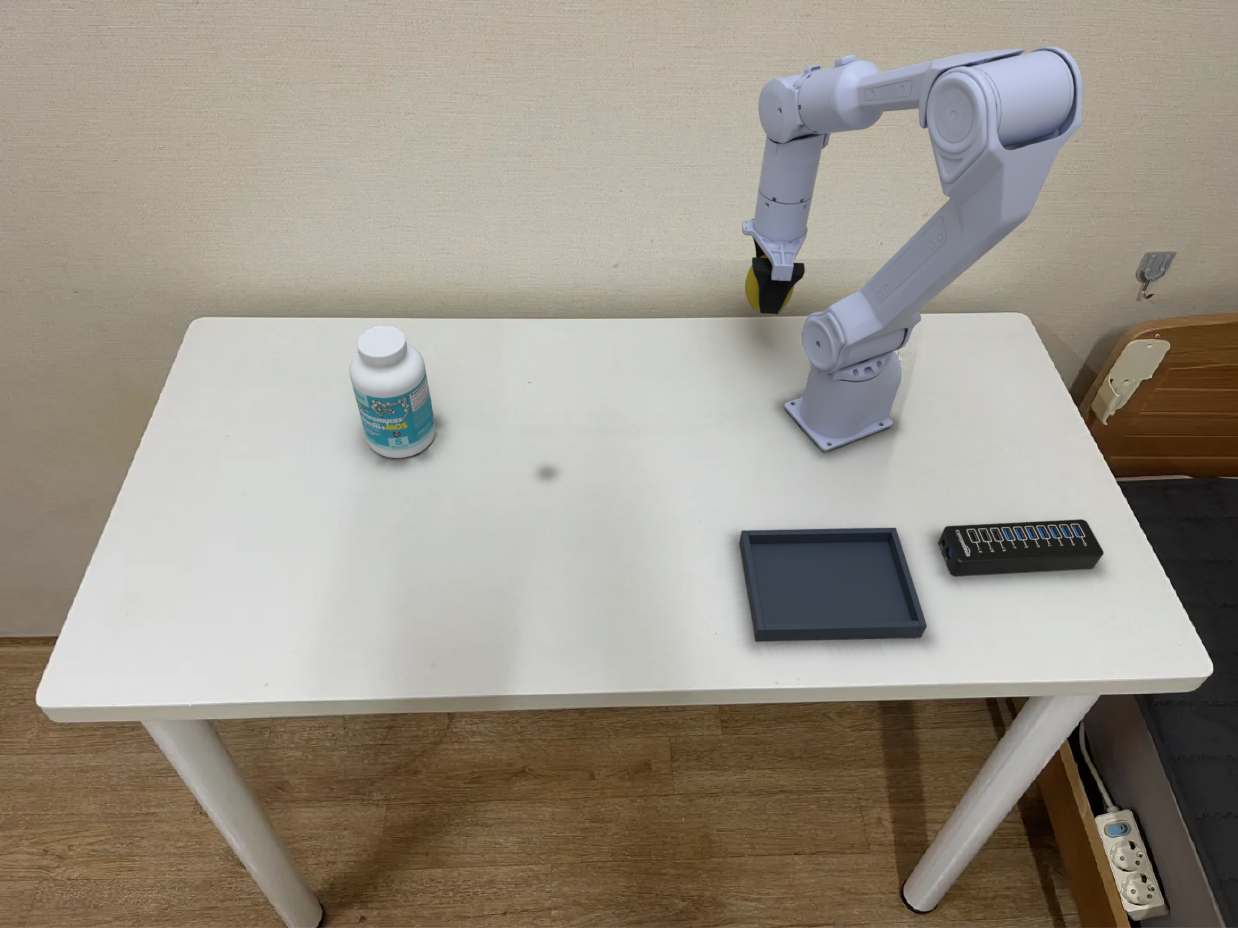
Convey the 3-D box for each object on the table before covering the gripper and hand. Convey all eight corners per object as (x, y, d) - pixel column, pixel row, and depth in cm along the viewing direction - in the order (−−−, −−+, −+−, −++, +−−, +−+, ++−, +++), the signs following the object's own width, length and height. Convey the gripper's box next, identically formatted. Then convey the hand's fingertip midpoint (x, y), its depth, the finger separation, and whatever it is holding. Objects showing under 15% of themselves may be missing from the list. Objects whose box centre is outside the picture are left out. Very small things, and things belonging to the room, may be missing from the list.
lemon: (794, 305, 106) (805, 248, 100) (779, 332, 103) (790, 274, 97) (750, 293, 108) (759, 236, 102) (734, 319, 104) (742, 261, 98)
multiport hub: (1095, 568, 86) (1105, 554, 85) (951, 576, 85) (958, 562, 84) (1076, 532, 89) (1085, 518, 88) (936, 540, 88) (943, 525, 87)
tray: (890, 539, 88) (896, 527, 87) (921, 638, 81) (927, 626, 79) (739, 542, 88) (741, 530, 86) (755, 641, 80) (758, 630, 79)
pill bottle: (353, 449, 95) (325, 352, 85) (390, 405, 100) (368, 308, 90) (414, 470, 93) (393, 373, 83) (449, 423, 98) (433, 327, 88)
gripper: (745, 153, 98) (731, 257, 108) (750, 226, 88) (734, 333, 98) (809, 156, 98) (789, 260, 108) (821, 229, 88) (798, 336, 98)
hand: (767, 295), depth 103 cm, fingers closed on lemon, 5 cm apart
